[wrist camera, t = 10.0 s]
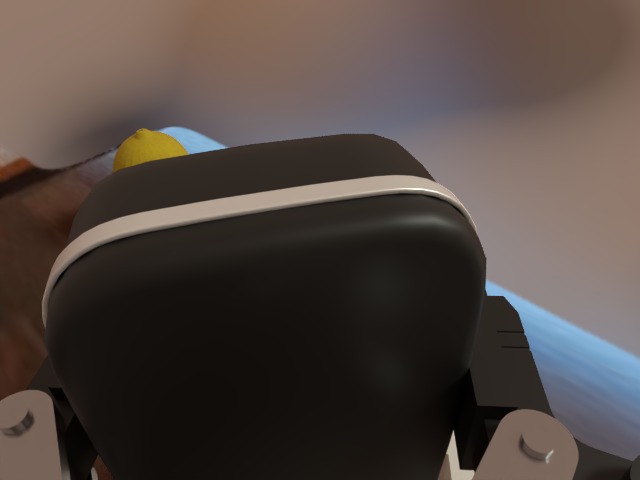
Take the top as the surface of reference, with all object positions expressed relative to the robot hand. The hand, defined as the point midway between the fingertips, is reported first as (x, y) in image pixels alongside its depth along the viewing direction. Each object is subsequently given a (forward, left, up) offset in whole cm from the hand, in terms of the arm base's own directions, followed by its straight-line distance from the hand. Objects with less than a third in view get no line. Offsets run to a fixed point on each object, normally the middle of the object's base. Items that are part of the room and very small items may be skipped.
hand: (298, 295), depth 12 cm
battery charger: (0, +2, -7) cm, 7 cm away
